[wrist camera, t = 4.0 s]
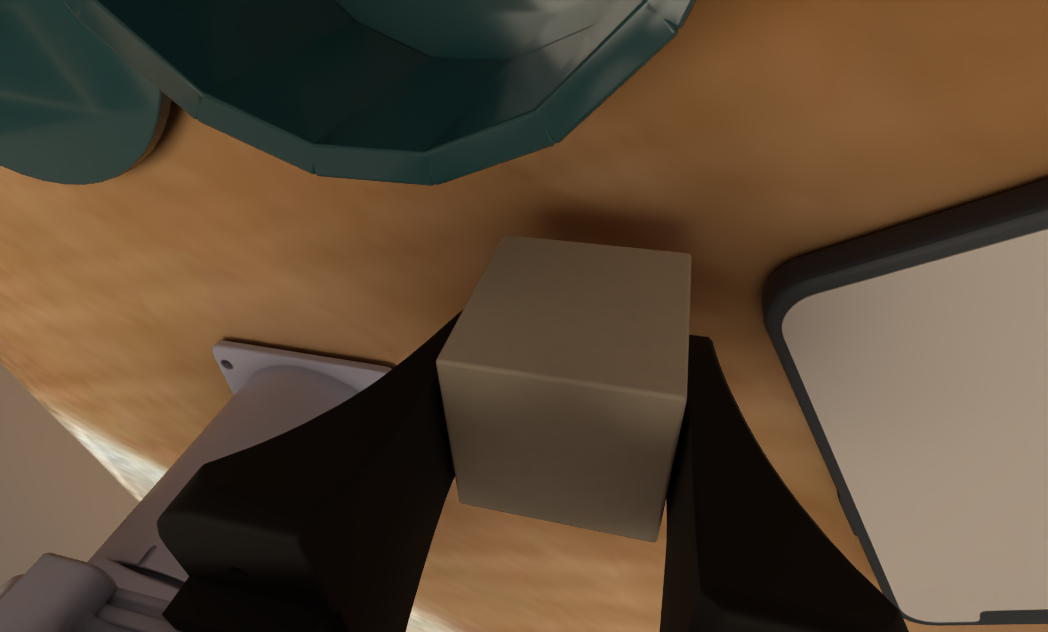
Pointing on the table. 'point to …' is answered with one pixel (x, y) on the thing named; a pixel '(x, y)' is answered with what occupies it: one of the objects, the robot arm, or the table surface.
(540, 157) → the table surface
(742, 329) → the table surface
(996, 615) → the phone case
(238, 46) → the canister
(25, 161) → the lid
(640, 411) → the block
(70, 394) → the table surface
